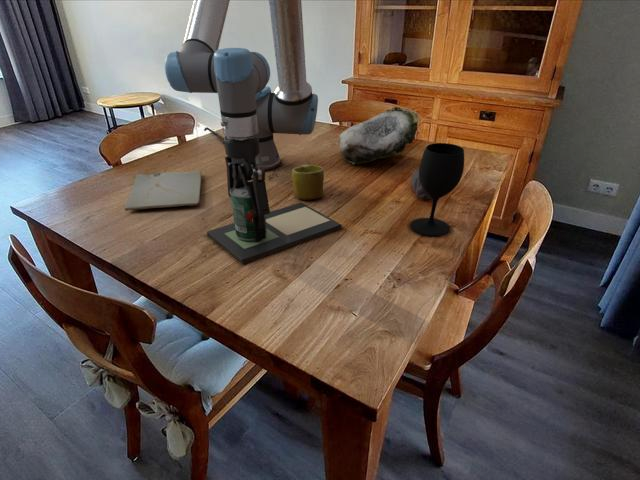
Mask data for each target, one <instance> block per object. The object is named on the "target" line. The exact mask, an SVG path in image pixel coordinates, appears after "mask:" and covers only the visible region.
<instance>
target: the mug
mask: <svg viewBox="0 0 640 480" xmlns="http://www.w3.org/2000/svg"><path fill="white" fill-rule="evenodd" d="M324 177H325V170H324V168H323V166H320V165H314V164H310V165H309V164H307V163H306V164H302V165H301V166H297V167H296V166H295V167H294V168H292V170H291V179H292V185H293V192H294V196H295V197H296V198H297V200H299V201H300V200H301V201H312V200H316V199H317V200H318V199H319V198H323V196H324Z"/></svg>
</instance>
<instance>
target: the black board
mask: <svg viewBox="0 0 640 480" xmlns="http://www.w3.org/2000/svg"><path fill="white" fill-rule="evenodd" d="M265 216H266V229H267V234H266V238H265V239H262V240H259V241H255V240H253V241H246V240H241V239H239V238H238V237H236V234H235V233H236V232H235V225H234V222H233V223H232V222H231V223H230V224H226V225H223V226H220V227H217V228H213V229H210V230H207V231H206V235H207V237H209V238H210V239H211V240H212V241H214V242H215V243H216V244H217V245H219V246H220V248H222V249H223V250H225V251H226V252H227V253H228V254H229V255H231V256H232V257H233V258H234V259H235V260H237V261H238V262H239V263H240V264H242V265H244V264H247V263H250V262H252V261H255V260H259V259H262V258H263V257H267V256H269V255H272V254H275V253H277V252H280V251H283V250H286V249H289V248H291V247H294V246H296V245H300V244H302V243H305V242H308V241H311V240H313V239H315V238H319V237H321V236H324V235H328V234H330V233H332V232H336V231H338V230H341V229H342V224H341V223H340V222H337V221H336V220H335V219H332V218H331V217H329V216H327V215H325V214H323V213H322V212H320V211H318V210H316V209H314V208H312V207H311V206H309V205H307V204H305V203H303V202H301V201H300V202H298V203H297V202H296V203H294V204H291V205H288V206H285V207H281V208H278V209H274V210H272V211H271V210H270V213H269V214H267V215H265Z"/></svg>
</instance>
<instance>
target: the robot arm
mask: <svg viewBox="0 0 640 480" xmlns="http://www.w3.org/2000/svg"><path fill="white" fill-rule="evenodd" d="M230 1H231V0H193V3H192V6H191V10H190V13H189V14H190V15H189V18H188V21H187V22H188V23H187V26H186V31H185V35H184V39H183V42H182V46H181V50H180V51H178V50H176V51H171V52H169V53H168V54H167V55H166V56H165V60H164V71H165V76H166V79H167V82H168V83H169V86H170V87H171V88H172V89H173V90H174V91H176V92H182V93H189V94H192V93H193V94H194V93H196V94H197V93H199V94H200V93H201V94H217V97H218V103H219V104H218V105H219V112H220V118H221V121H220V126H221V127H222V132H223V133H222V134H223V135H224V138H223V137H222V136H221V135H220V134H219V133H218V132H216V131H215V130H212V129H211V128H209V127H208V126H207V127H204V129H203V131H204V132H207V131H209V132H210V133H211V134H213V135H215V136H216V137H217V138H218V139H219V140H220V141H221V142H222V143H223V144H224V150H225V155H226V156H225V157H224V161H225V166H226V179H227V195H228V197H229V198H231V195H230V190H231V189H232V188H233V187H235V188H236V189H237V188H240V187H244V186H246V187H247V190H248V193H249V196H251V204H252V207H253V211H254V214H253V215H252V217H253V226H254V236H255V241H259V240H262V239H265V238H266V233H265V219H264V215H267V214H269V213H270V212H271V210H270V204H269V199H268V191H267V185H266V171H269V170H274V169H275V168H278V167H279V166H280V165H281V157H280V154H279V151H278V149H277V146H276V143H275V139H274V134H282V135H298V136H301V135H302V136H303V135H306V136H307V135H311V134H312V133H313V132H314V129H315V126H316V122H317V115H318V104H319V97H318V95H317V94H315V93H313V89H312V88H313V87H312V85H311V84H310V83H309V82H308V81H307V67H306V54H305V53H306V52H305V51H306V50H305V37H304V21H303V5H302V0H268V7H269V8H268V9H269V16H270V23H271V31H272V32H271V33H272V41H273V49H274V58H275V66H276V74H277V82H278V84H277V86H276V87H275V88H274V92H272V88H271V87H270V86H267V85H268V83H269V81H270V78H271V68H270V64H269V62H268V60H267V59H266V58H265V56H264V55H262V54H261V53H259V52H257V51H250V50H249V49H247V48H243V47H224V48H220V49H219V47H220V43H221V41H222V40H221V39H222V35H223V31H224V27H225V23H226V18H227V13H228V10H229V6H230ZM215 132H216V133H215Z"/></svg>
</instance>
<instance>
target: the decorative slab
mask: <svg viewBox="0 0 640 480" xmlns="http://www.w3.org/2000/svg"><path fill="white" fill-rule="evenodd" d="M201 185H202V171H201V170H192V171H166V172H162V173H161V172H155V173H152V174H146V173H138V174H137V173H136V176H135V178H134V181H133V183H132V186H131V189H130V192H129V195H128V198H127V201H126V203H125V207H124V209H125V211H127V212H128V211H132V210H147V209H157V208H158V209H159V208H173V207H183V206H190V207H191V206H192V207H193V206H196V205H198V204H200V199H201V197H200V196H201Z"/></svg>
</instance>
